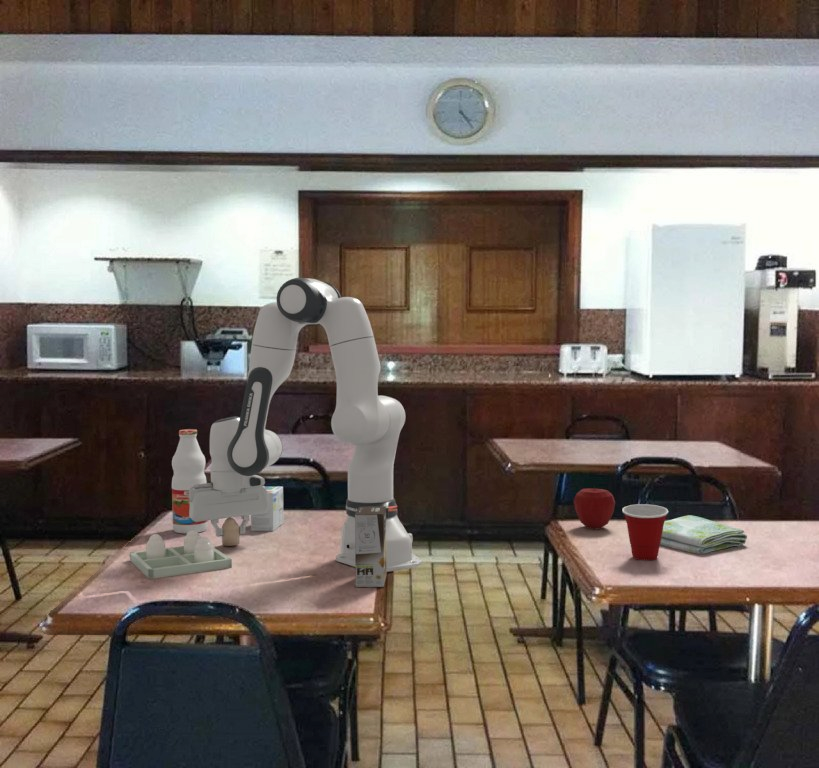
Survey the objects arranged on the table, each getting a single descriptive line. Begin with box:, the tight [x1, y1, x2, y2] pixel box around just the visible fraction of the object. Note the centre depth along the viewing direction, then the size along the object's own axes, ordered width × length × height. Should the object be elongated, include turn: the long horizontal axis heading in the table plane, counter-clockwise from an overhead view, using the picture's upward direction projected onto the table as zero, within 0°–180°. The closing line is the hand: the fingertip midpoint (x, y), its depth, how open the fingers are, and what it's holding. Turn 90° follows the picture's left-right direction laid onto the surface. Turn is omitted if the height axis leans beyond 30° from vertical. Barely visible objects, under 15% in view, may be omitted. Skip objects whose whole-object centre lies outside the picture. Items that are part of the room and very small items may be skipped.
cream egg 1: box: [145, 533, 166, 560], centre depth 224 cm, size 4×4×7 cm
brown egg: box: [221, 517, 241, 547], centre depth 240 cm, size 4×4×7 cm
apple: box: [573, 485, 616, 530], centre depth 260 cm, size 11×11×12 cm
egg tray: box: [129, 545, 233, 580], centre depth 223 cm, size 19×19×2 cm
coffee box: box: [355, 506, 387, 588], centre depth 207 cm, size 9×6×16 cm
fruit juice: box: [171, 428, 209, 535], centre depth 260 cm, size 9×9×28 cm
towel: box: [660, 514, 748, 555], centre depth 242 cm, size 18×21×5 cm
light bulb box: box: [250, 485, 284, 532], centre depth 264 cm, size 11×7×11 cm, turn 172°
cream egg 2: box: [183, 530, 202, 555], centre depth 228 cm, size 4×4×7 cm
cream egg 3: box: [194, 536, 214, 563], centre depth 221 cm, size 4×4×7 cm
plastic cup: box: [622, 503, 669, 561], centre depth 226 cm, size 11×11×12 cm
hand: (230, 534), depth 240 cm, fingers closed on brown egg, 4 cm apart
